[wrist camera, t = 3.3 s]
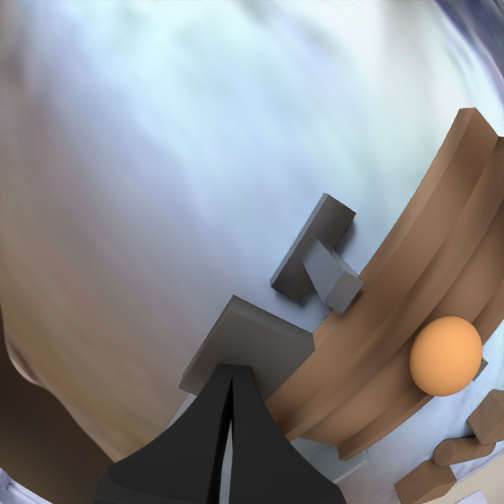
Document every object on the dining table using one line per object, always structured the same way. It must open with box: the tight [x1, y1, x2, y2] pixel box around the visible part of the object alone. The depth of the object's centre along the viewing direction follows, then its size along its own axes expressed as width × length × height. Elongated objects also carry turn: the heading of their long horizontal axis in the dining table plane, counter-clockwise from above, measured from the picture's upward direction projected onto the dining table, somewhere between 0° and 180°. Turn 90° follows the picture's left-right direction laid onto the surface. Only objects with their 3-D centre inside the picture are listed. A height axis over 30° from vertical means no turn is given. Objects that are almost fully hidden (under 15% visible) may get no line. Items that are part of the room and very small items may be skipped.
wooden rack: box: [179, 108, 504, 461], centre depth 9 cm, size 16×12×3 cm
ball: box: [409, 316, 482, 396], centre depth 8 cm, size 3×3×3 cm
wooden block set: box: [394, 389, 504, 504], centre depth 18 cm, size 17×6×18 cm
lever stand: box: [270, 193, 488, 381], centre depth 12 cm, size 5×11×6 cm, turn 60°
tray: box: [163, 393, 370, 504], centre depth 16 cm, size 12×12×4 cm
